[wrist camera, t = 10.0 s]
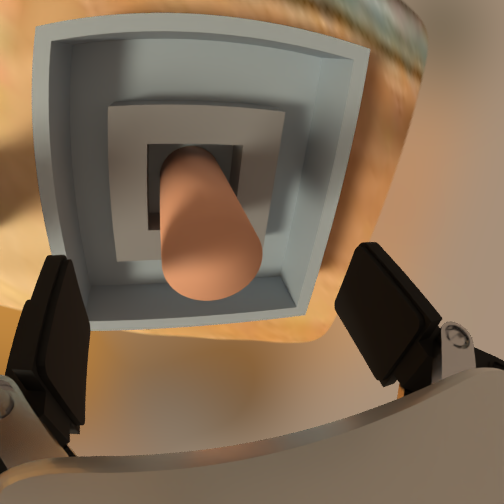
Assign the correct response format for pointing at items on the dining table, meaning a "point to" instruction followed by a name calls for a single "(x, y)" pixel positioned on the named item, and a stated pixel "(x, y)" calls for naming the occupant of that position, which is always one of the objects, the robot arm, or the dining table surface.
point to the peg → (204, 229)
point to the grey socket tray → (190, 134)
